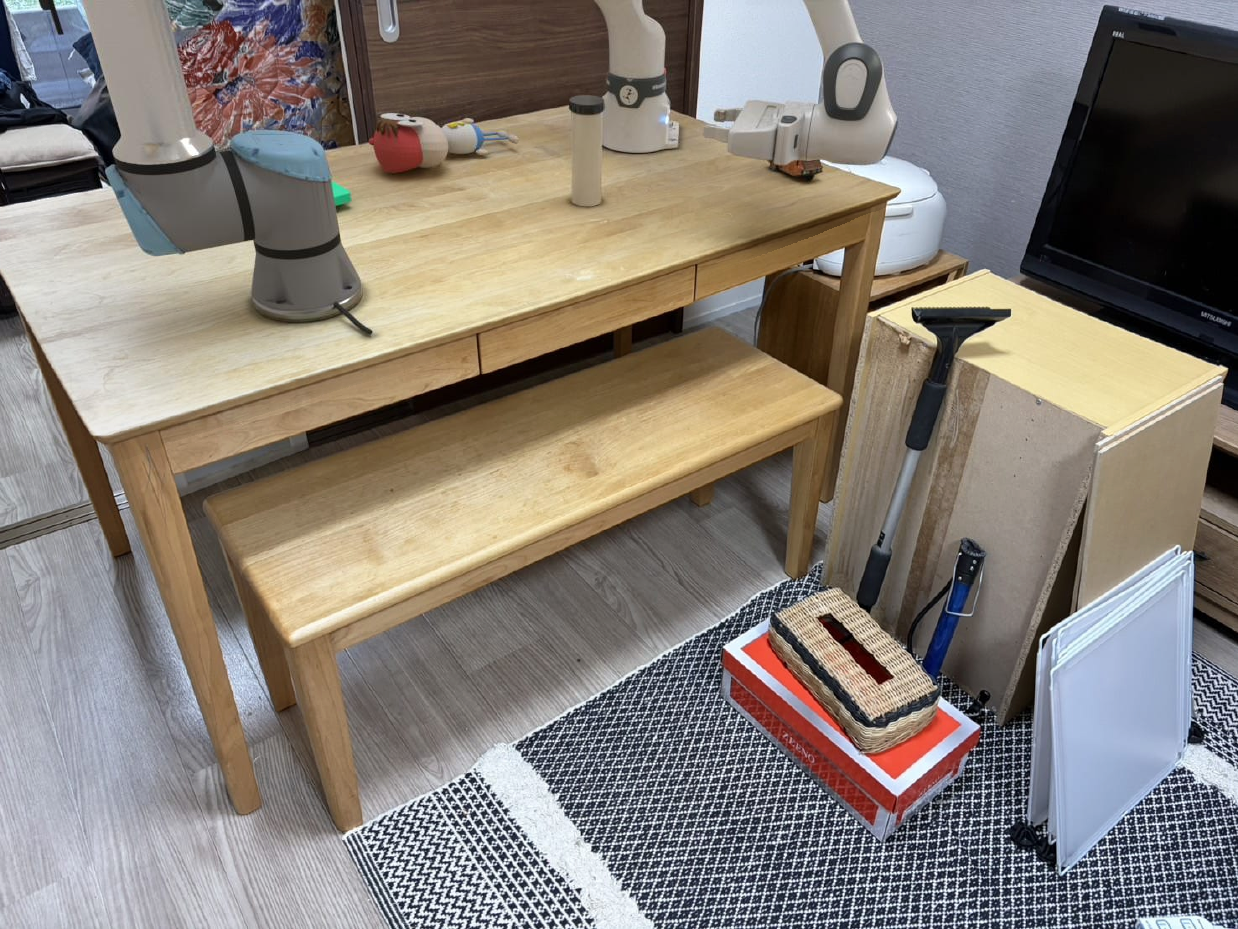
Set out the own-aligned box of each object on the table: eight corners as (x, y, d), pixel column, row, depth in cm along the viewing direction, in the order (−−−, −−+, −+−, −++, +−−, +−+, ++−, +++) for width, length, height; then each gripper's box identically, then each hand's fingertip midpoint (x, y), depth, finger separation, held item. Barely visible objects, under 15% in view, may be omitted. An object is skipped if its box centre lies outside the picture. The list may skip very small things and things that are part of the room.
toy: (535, 119, 180) (386, 123, 165) (533, 173, 185) (388, 181, 170) (493, 104, 193) (352, 106, 178) (493, 155, 198) (355, 160, 183)
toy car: (782, 160, 188) (786, 126, 183) (827, 178, 180) (833, 142, 176) (760, 167, 184) (764, 131, 180) (805, 184, 177) (810, 148, 173)
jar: (581, 193, 171) (581, 96, 161) (606, 199, 169) (608, 101, 159) (566, 202, 167) (565, 103, 157) (591, 208, 165) (592, 109, 155)
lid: (580, 102, 162) (580, 92, 161) (611, 107, 159) (611, 98, 158) (562, 110, 157) (562, 101, 156) (593, 116, 155) (593, 107, 154)
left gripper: (151, -134, 141) (187, 17, 154) (-38, -132, 131) (17, 30, 144) (159, -130, 136) (195, 26, 149) (-37, -127, 126) (20, 41, 138)
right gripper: (802, 94, 158) (722, 87, 160) (787, 128, 142) (699, 119, 144) (797, 132, 161) (718, 124, 164) (782, 169, 145) (696, 159, 148)
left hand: (108, 29), depth 146 cm, fingers open, 13 cm apart
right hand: (709, 122), depth 154 cm, fingers open, 8 cm apart
